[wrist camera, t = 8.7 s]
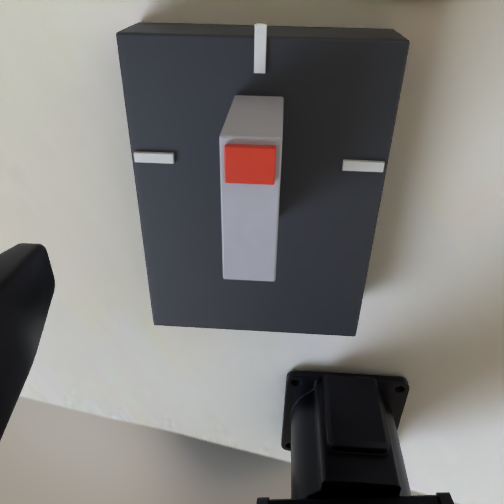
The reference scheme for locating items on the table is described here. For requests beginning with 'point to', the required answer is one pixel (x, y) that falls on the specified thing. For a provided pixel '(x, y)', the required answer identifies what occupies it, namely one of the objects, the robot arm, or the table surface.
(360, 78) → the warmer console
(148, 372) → the table surface
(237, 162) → the gray box
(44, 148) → the table surface
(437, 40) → the table surface
